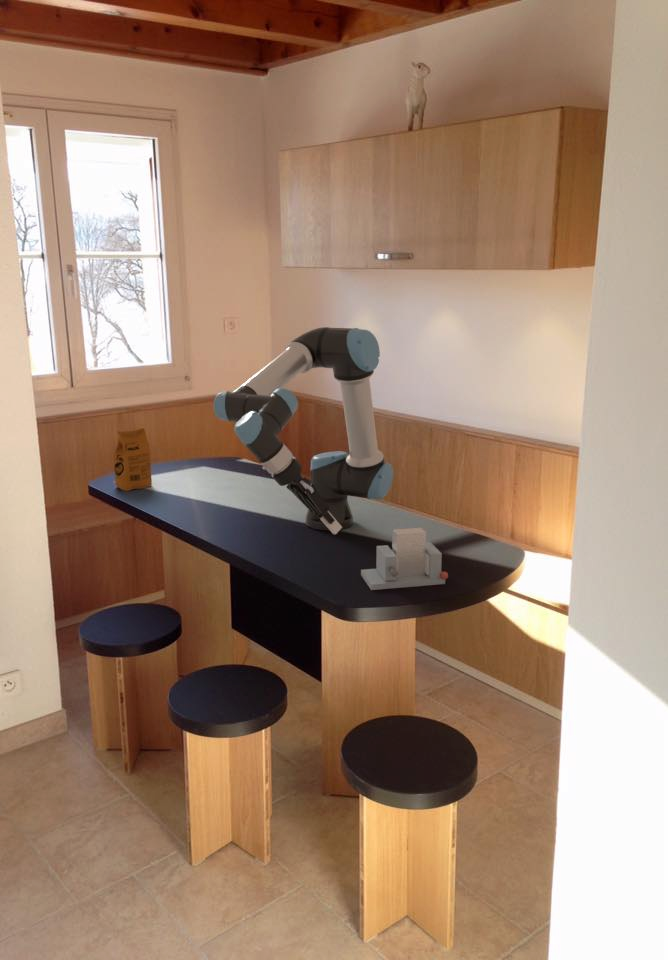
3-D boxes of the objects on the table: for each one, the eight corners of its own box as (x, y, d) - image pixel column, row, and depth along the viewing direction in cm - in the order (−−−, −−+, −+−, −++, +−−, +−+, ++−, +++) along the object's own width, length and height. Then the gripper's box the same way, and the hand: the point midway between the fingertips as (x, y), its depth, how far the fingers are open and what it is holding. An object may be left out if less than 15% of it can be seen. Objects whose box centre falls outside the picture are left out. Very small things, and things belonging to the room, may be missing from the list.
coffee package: (112, 487, 319) (108, 429, 313) (142, 481, 327) (139, 424, 321) (124, 492, 312) (120, 433, 306) (155, 486, 319) (151, 428, 314)
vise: (360, 574, 231) (361, 545, 229) (433, 569, 235) (434, 540, 233) (372, 591, 219) (372, 561, 217) (448, 585, 223) (449, 555, 221)
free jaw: (376, 568, 230) (376, 545, 229) (388, 567, 231) (389, 545, 229) (389, 586, 218) (389, 562, 216) (402, 585, 219) (403, 561, 217)
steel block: (391, 572, 228) (392, 529, 225) (420, 570, 230) (421, 527, 227) (395, 577, 225) (396, 534, 222) (425, 575, 226) (426, 532, 223)
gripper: (261, 473, 219) (316, 537, 228) (282, 477, 208) (339, 544, 216) (281, 453, 221) (335, 517, 230) (303, 456, 210) (359, 523, 218)
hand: (337, 530), depth 223 cm, fingers closed
